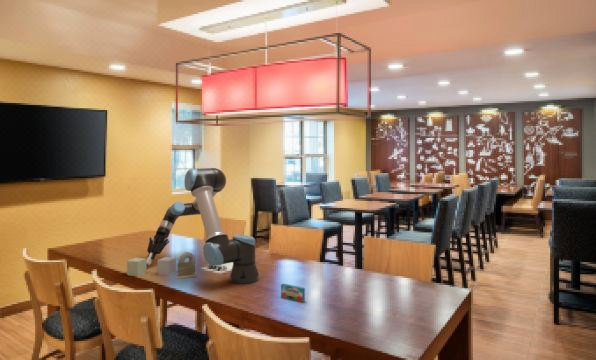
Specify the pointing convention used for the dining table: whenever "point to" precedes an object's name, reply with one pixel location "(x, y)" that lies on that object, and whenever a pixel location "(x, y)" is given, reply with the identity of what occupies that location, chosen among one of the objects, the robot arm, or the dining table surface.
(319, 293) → the dining table surface
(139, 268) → the sage block
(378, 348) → the dining table surface
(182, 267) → the card
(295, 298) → the flat green printed box
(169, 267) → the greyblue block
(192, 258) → the donut
